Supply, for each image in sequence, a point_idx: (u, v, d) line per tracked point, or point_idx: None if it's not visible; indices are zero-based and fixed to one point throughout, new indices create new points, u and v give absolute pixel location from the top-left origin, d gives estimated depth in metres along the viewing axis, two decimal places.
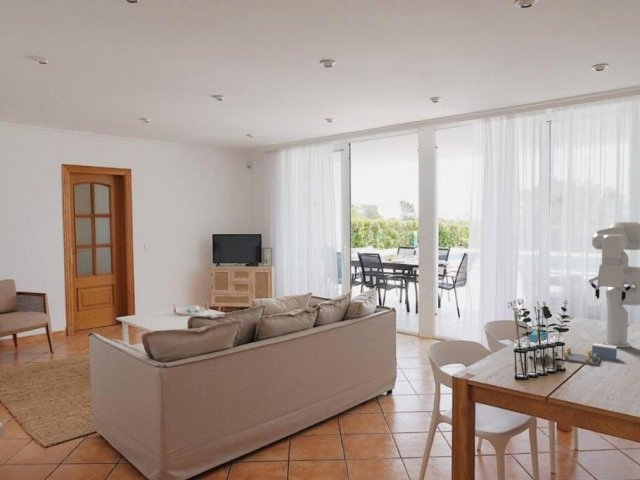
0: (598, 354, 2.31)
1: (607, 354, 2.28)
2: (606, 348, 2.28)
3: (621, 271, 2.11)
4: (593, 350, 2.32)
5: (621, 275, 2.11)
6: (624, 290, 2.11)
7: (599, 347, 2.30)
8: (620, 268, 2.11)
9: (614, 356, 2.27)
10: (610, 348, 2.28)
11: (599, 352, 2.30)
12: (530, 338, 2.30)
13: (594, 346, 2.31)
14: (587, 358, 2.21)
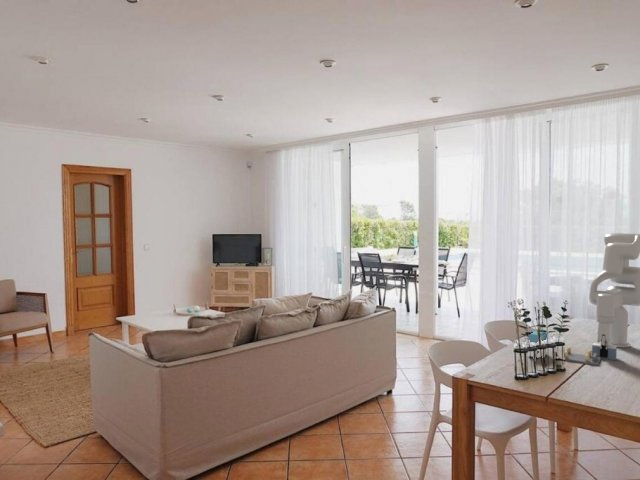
0: (598, 353, 2.30)
1: None
2: None
3: None
4: (593, 350, 2.32)
5: None
6: None
7: (599, 347, 2.30)
8: None
9: (614, 356, 2.27)
10: (610, 348, 2.27)
11: (599, 351, 2.30)
12: (530, 338, 2.30)
13: (594, 346, 2.31)
14: (587, 358, 2.21)
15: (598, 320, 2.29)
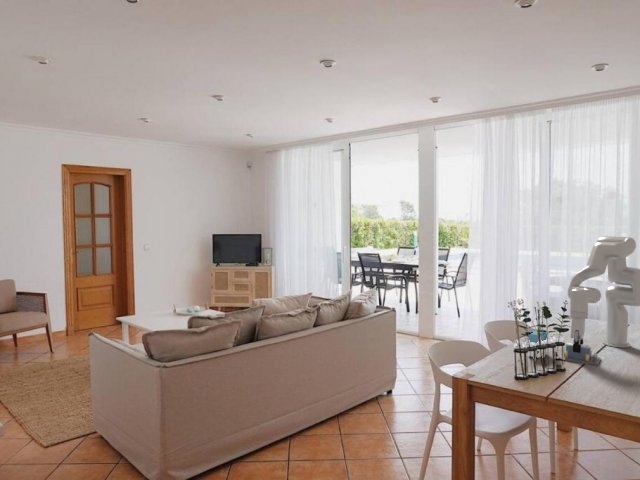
0: (572, 353, 2.28)
1: (581, 353, 2.25)
2: None
3: None
4: (567, 349, 2.29)
5: None
6: (582, 338, 2.31)
7: None
8: None
9: None
10: (583, 347, 2.25)
11: None
12: (530, 338, 2.30)
13: (568, 345, 2.29)
14: (587, 358, 2.21)
15: (572, 315, 2.26)
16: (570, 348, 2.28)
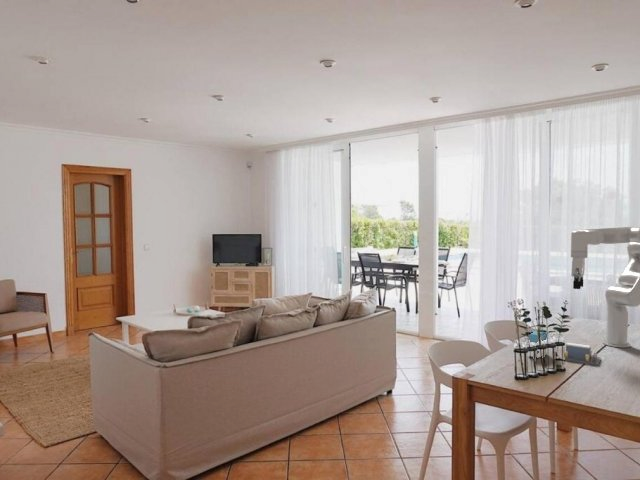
0: (572, 353, 2.28)
1: (581, 353, 2.25)
2: (580, 347, 2.26)
3: None
4: (567, 349, 2.29)
5: None
6: (582, 277, 2.47)
7: (573, 346, 2.27)
8: None
9: None
10: (583, 347, 2.25)
11: (573, 351, 2.27)
12: (530, 338, 2.30)
13: (568, 345, 2.29)
14: (587, 358, 2.21)
15: (572, 255, 2.42)
16: (570, 348, 2.28)
